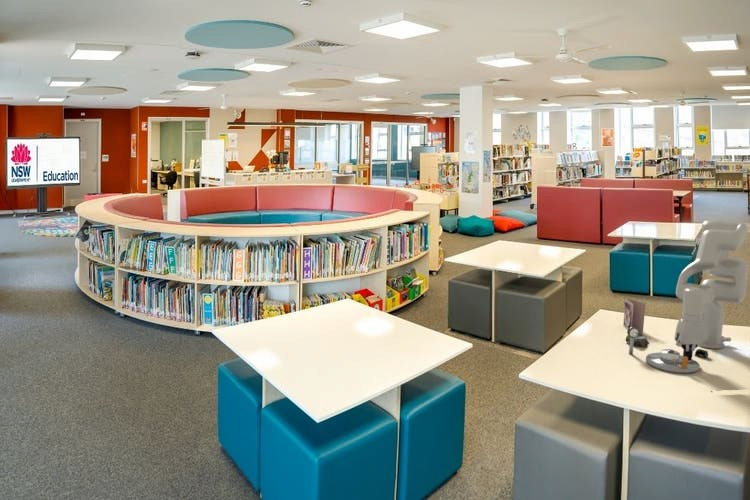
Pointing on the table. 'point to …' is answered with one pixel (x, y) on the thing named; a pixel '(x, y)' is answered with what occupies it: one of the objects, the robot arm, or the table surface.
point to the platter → (680, 368)
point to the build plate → (701, 353)
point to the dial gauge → (633, 337)
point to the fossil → (638, 341)
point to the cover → (669, 356)
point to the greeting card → (634, 314)
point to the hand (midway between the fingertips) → (687, 359)
